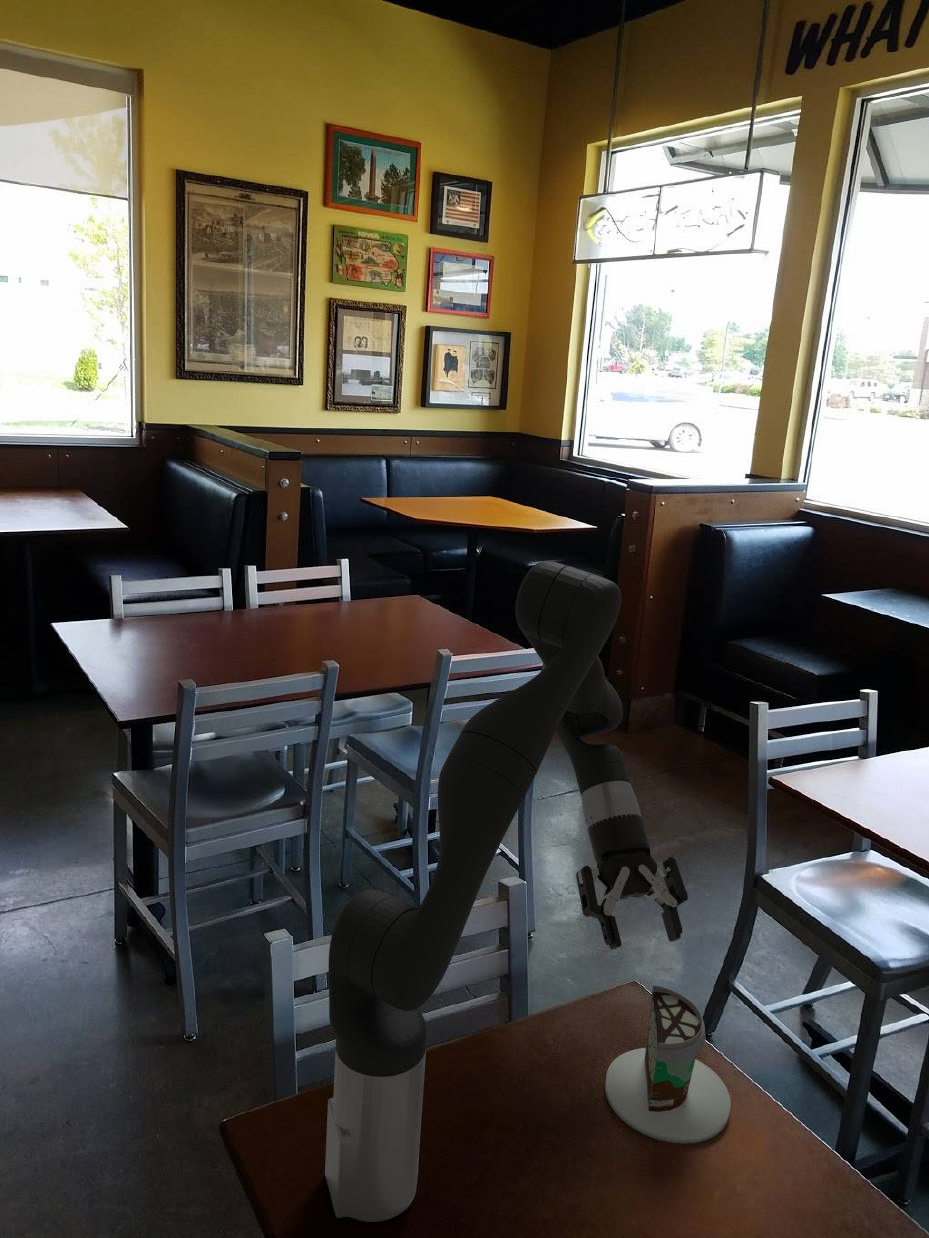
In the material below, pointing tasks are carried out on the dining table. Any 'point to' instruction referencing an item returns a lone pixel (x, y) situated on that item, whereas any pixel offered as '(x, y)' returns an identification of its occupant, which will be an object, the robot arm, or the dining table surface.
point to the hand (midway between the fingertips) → (646, 943)
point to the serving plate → (679, 1125)
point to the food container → (671, 1048)
